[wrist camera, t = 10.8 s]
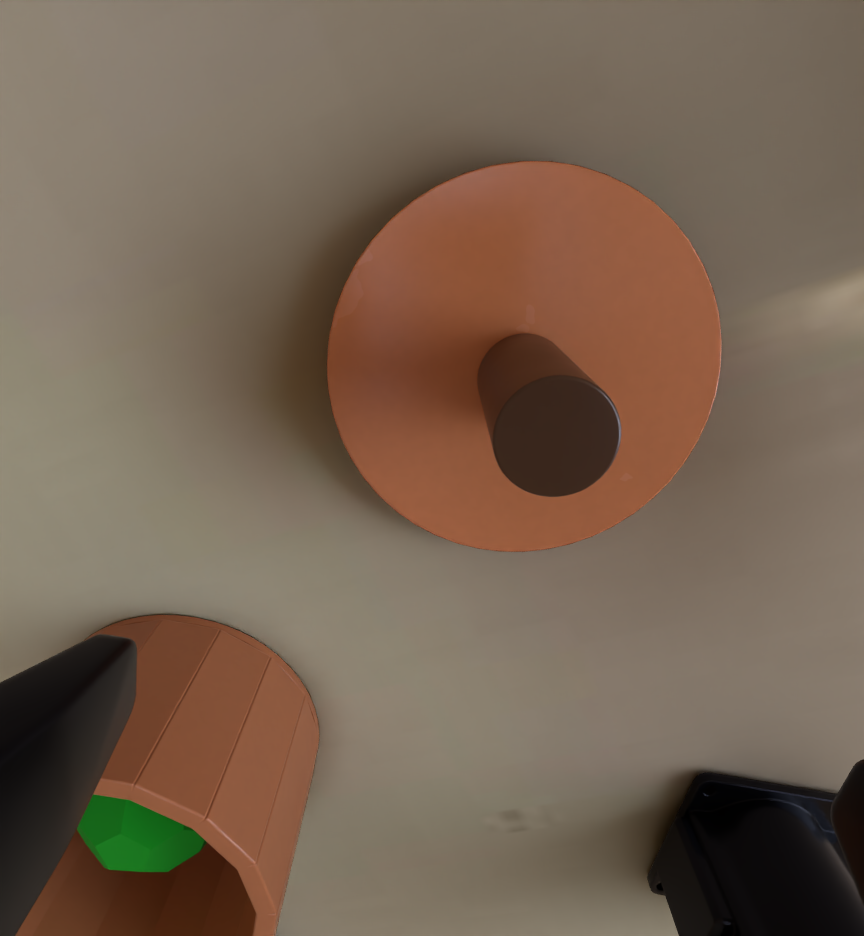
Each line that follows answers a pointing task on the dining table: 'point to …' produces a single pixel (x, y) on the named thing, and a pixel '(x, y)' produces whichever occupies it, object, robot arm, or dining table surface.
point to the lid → (524, 356)
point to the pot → (197, 789)
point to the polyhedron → (135, 836)
